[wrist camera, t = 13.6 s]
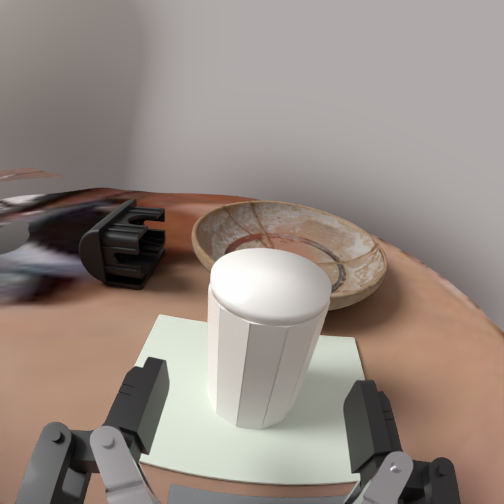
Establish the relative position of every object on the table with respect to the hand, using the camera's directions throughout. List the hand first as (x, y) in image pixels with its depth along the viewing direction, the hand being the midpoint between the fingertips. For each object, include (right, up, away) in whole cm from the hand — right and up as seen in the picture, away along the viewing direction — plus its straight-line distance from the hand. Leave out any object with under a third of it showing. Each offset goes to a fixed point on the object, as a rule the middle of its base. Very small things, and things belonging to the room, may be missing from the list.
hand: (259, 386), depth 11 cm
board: (0, -5, +8) cm, 9 cm away
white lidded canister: (0, -4, +8) cm, 9 cm away
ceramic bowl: (+4, +3, +25) cm, 26 cm away
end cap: (-15, +4, +22) cm, 27 cm away
